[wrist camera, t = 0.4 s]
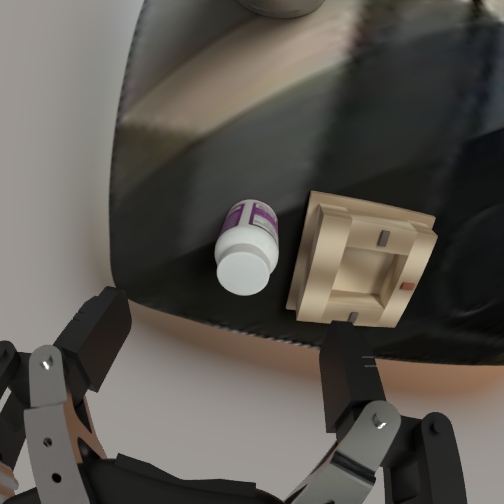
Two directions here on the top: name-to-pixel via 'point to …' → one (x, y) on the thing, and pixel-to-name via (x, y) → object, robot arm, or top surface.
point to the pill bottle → (247, 247)
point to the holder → (358, 261)
